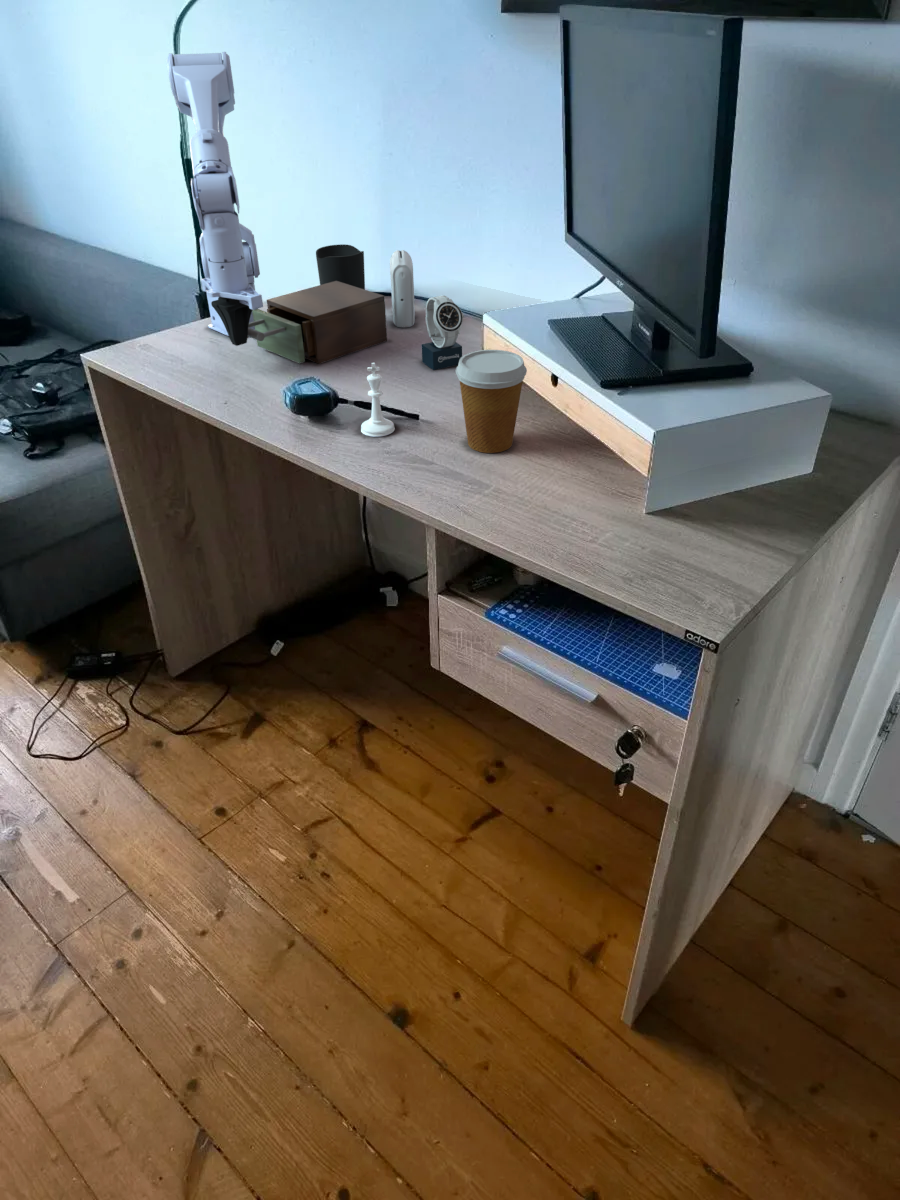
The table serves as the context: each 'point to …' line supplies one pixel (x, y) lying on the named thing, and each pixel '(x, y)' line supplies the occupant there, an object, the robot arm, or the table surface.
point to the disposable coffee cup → (490, 397)
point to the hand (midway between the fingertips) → (239, 343)
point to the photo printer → (402, 289)
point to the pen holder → (341, 265)
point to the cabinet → (338, 317)
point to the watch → (442, 333)
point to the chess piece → (376, 409)
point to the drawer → (282, 333)
